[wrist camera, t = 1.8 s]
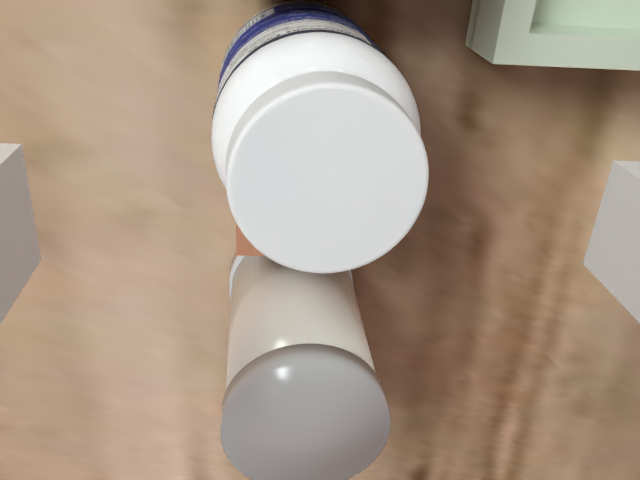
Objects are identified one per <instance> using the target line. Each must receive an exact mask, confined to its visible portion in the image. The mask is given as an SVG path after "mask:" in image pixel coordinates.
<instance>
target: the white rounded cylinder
mask: <svg viewBox="0 0 640 480" xmlns="http://www.w3.org/2000/svg"><path fill="white" fill-rule="evenodd" d="M229 294H230V299H231V307H230V326H229V346H228V365H227V384H226V392H225V394H224V398H223V402H222V418H221V443H222V446H223V449H224V452H225V454H226V456H227V458H228V459H229V460H230V462H231V463H232V465H233V466H234V467H235V468H236V469H237V470H238V471H240V472H241V473H242V474H244V475H245V476H246V477H248V478H250V479H252V480H347V479H349V478H351V477H353V476H355V475H356V474H358V473H360V472H361V471H362V470H364V469H365V468H366V467H368V466H369V465H370V464H371V463H372V462H373V461H374V460H375V459H376V458H377V456H378V455H379V454H380V453H381V451H382V449H383V448H384V446H385V444H386V442H387V439H388V437H389V433H390V426H391V419H390V412H389V408H388V405H387V401H386V397H385V394H384V390H383V387H382V383H381V381H380V379H379V377H378V375H377V374H376V372H375V368H374V364H373V361H372V357H371V353H370V349H369V346H368V342H367V338H366V334H365V331H364V327H363V323H362V319H361V316H360V312H359V308H358V304H357V300H356V297H355V293H354V289H353V277H352V272H351V270H348V271H343V272H336V273H325V274H322V273H310V272H303V271H298V270H295V269H291V268H288V267H285V266H283V265H281V264H279V263H277V262H275V261H273V260H271V259H269V258H268V257H266V256H237V252H236V254H235V256H234V258H233V261H232V264H231V268H230V281H229Z"/></svg>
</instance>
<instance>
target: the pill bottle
mask: <svg viewBox="0 0 640 480" xmlns="http://www.w3.org/2000/svg"><path fill="white" fill-rule="evenodd" d="M211 138H212V151H213V157H214V161H215V165H216V168H217V172H218V174H219V177H220V179H221V181H222V183H223V185H224V187H225V188H226V190H227V198H228V202H229V206H230V209H231V212H232V214H233V217H234V219H235V221H236V223H237V225H238V227H239V228H240V230H241V231H242V233H243V235H244V236H245V237H246V238H247V240H248V241H249V242H250V243H251V244H252V245H253V246H254V247H255V248H256V249H257V250H258V251H260V252H261V253H262V254H264V255H265V256H266V257H268V258H269V259H271V260H273V261H275V262H277V263H279V264H281V265H283V266H285V267H288V268H291V269H295V270H298V271H303V272H310V273H322V274H325V273H336V272H343V271H348V270H352V269H355V268H358V267H361V266H364V265H366V264H369V263H371V262H372V261H374V260H376V259H378V258H380V257H381V256H383V255H384V254H386V253H387V252H389V251H390V250H391V249H392V248H393V247H394V246H396V245H397V244H398V243H399V242H400V241H401V240H402V239H403V238H404V237H405V235H406V234H407V233H408V232H409V230H410V229H411V228H412V226H413V225H414V223H415V221H416V220H417V218H418V216H419V214H420V212H421V210H422V207H423V204H424V202H425V199H426V194H427V189H428V181H429V166H428V158H427V153H426V149H425V146H424V143H423V140H422V138H421V128H420V118H419V113H418V108H417V105H416V102H415V99H414V96H413V94H412V92H411V89H410V87H409V85H408V83H407V81H406V79H405V78H404V76H403V75H402V73H401V72H400V71H399V70H398V69H397V67H396V66H395V65H394V64H393V63H392V62H391V60H390V59H389V58H388V57H387V56H386V55H385V54H384V53H383V52H382V51H381V50H380V49H379V48H378V46H377V45H376V44H375V43H374V42H373V41H372V40H371V39H370V38H369V37H368V36H367V35H366V34H365V32H364V31H363V30H362V29H361V28H360V27H359V26H358V25H357V24H356V23H355V22H354V21H353V20H351V19H350V18H349V17H348V16H346V15H345V14H343V13H342V12H340V11H338V10H337V9H335V8H332V7H330V6H328V5H325V4H322V3H318V2H313V1H305V0H297V1H288V2H283V3H279V4H275V5H273V6H270V7H268V8H266V9H263V10H262V11H260V12H258V13H257V14H255V15H254V16H252V17H251V18H250V19H249V20H248V21H247V22H245V23H244V25H243V26H242V27H241V28H240V29H239V30H238V31H237V33H236V34H235V36H234V37H233V39H232V41H231V42H230V44H229V46H228V48H227V51H226V53H225V56H224V59H223V63H222V67H221V73H220V79H219V85H218V92H217V97H216V102H215V107H214V111H213V121H212V137H211Z"/></svg>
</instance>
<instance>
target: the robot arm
mask: <svg viewBox="0 0 640 480" xmlns="http://www.w3.org/2000/svg"><path fill="white" fill-rule="evenodd" d="M40 260H41V256H40V250H39V244H38V238H37V232H36V226H35V221H34V215H33V209H32V203H31V197H30V191H29V185H28V179H27V173H26V167H25V161H24V155H23V149H22V144H4V143H0V324H1V322H2V321H3V319H4V317H5V316H6V314H7V313H8V311H9V309H10V308H11V306H12V305H13V303H14V301H15V300H16V298H17V297H18V295H19V294H20V292H21V290H22V289H23V287H24V286H25V284H26V282H27V281H28V279H29V278H30V276H31V274H32V273H33V271H34V270H35V268H36V266H37V265H38V263H39V262H40ZM583 264H584V265H585V266H586V267H587V269H588V270H589V271H590V272H591V273H592V274H593V275H594V276H595V277H596V278H597V279H598V280H599V281H600V282H601V283H602V284H603V285H604V286H605V288H606V289H607V290H608V291H609V292H610V293H611V294H612V295H613V296H614V297H615V298H616V299H617V300H618V301H619V302H620V303H621V304H622V305H623V306H624V308H625V309H626V310H627V311H628V312H629V313H630V314H631V315H632V316H633V317H634V318H635V319H636V320H637V321H638V322H639V323H640V161H613V164H612V167H611V171H610V174H609V177H608V181H607V184H606V187H605V191H604V194H603V198H602V201H601V204H600V208H599V211H598V214H597V218H596V221H595V224H594V228H593V231H592V235H591V238H590V241H589V245H588V248H587V251H586V255H585V258H584V262H583Z"/></svg>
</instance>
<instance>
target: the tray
mask: <svg viewBox="0 0 640 480" xmlns="http://www.w3.org/2000/svg"><path fill="white" fill-rule="evenodd" d="M465 46H467V47H468V48H470V49H471V50H473V51H474V52H476V53H477V54H479V55H480V56H482V57H483V58H485V59H486V60H487V61H489V62H490V63H492V64H505V65H527V66H549V67H571V68H593V69H615V70H637V71H640V0H473V1H472V7H471V13H470V19H469V24H468V30H467V36H466V42H465Z"/></svg>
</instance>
